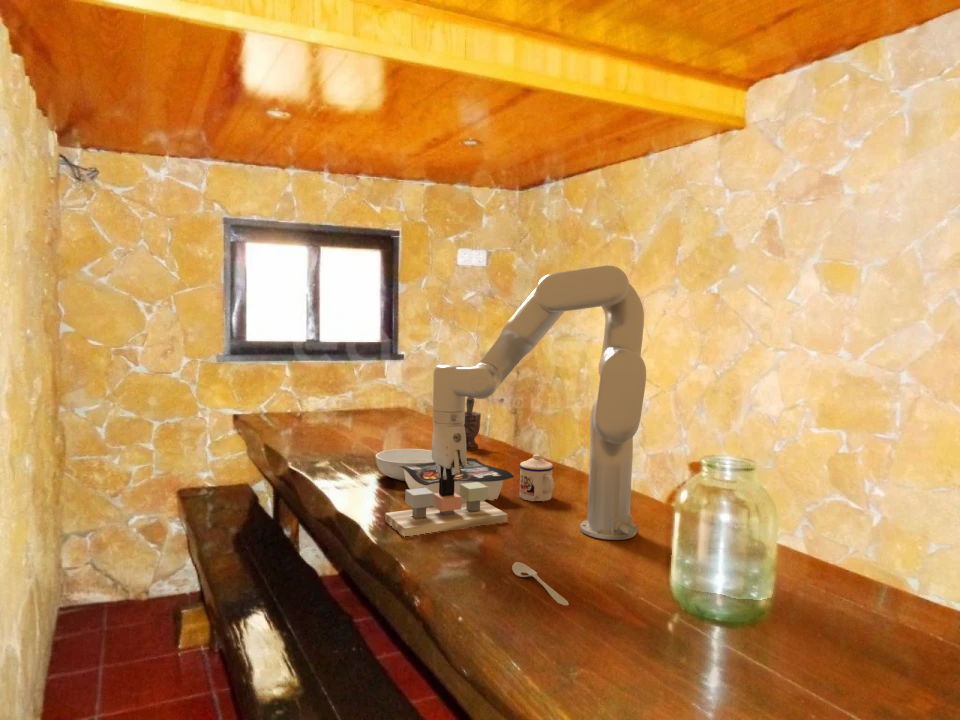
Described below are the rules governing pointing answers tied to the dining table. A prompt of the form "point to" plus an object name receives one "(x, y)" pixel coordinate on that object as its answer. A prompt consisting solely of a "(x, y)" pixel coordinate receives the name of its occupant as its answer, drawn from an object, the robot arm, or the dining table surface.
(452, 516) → the button board
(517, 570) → the spoon
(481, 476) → the food packaging
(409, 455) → the serving bowl
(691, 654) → the dining table surface
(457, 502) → the terracotta button
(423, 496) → the slate button
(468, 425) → the mortar and pestle
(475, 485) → the sage button
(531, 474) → the teacup with lid
